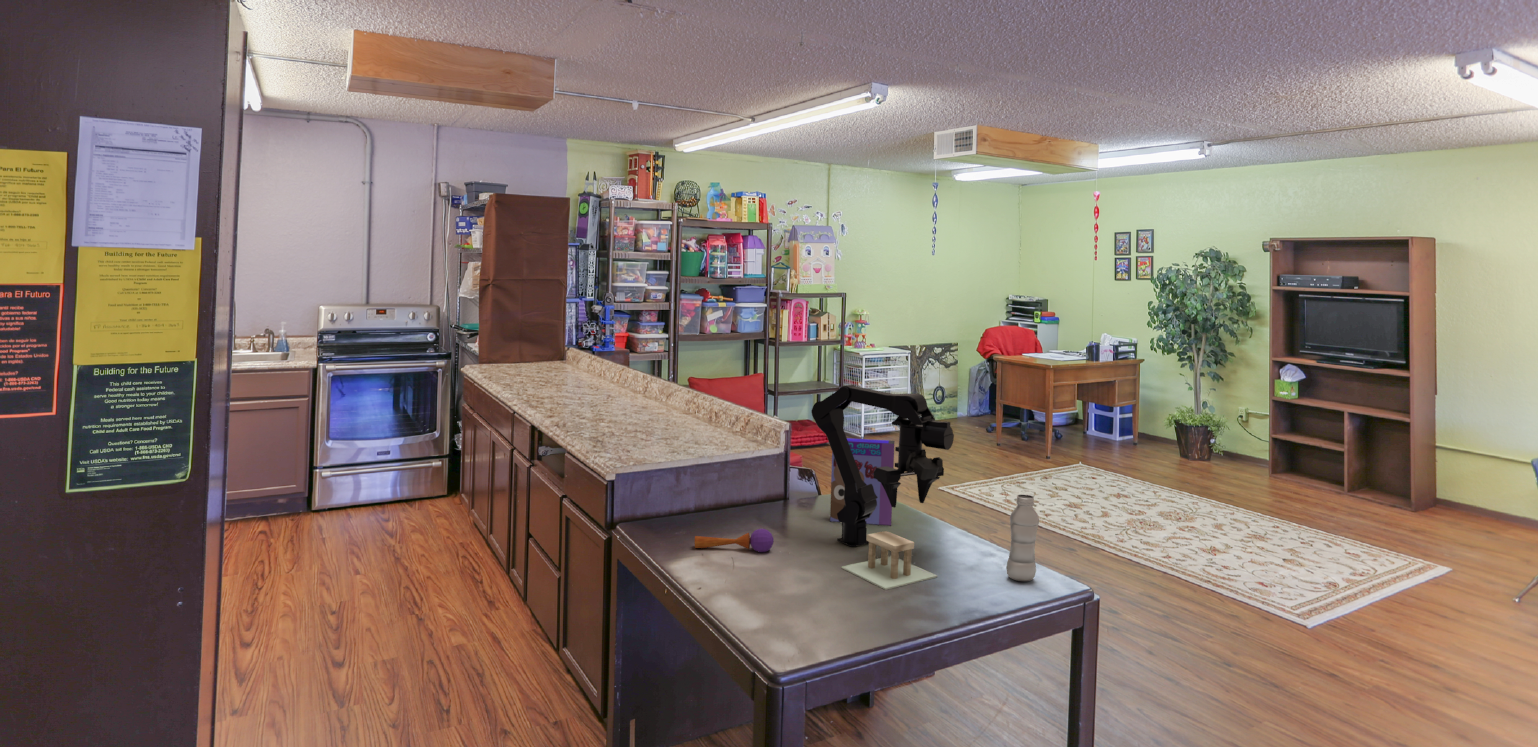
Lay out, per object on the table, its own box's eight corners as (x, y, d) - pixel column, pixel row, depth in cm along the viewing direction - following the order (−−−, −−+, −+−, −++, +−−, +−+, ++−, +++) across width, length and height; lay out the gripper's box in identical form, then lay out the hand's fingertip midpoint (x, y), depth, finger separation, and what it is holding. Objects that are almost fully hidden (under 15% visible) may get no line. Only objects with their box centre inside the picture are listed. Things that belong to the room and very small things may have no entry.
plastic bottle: (1001, 574, 191) (1005, 492, 189) (1029, 574, 192) (1033, 492, 189) (1011, 584, 185) (1016, 499, 182) (1040, 584, 185) (1045, 499, 183)
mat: (841, 568, 193) (841, 566, 193) (891, 557, 202) (891, 555, 202) (885, 589, 180) (885, 588, 180) (937, 577, 189) (937, 575, 188)
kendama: (697, 529, 209) (773, 526, 207) (698, 552, 209) (774, 550, 207) (693, 532, 203) (771, 529, 201) (694, 555, 203) (772, 553, 201)
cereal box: (830, 521, 231) (832, 439, 229) (831, 517, 236) (834, 436, 233) (891, 525, 228) (894, 443, 226) (891, 521, 233) (894, 439, 231)
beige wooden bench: (893, 579, 185) (895, 546, 184) (865, 566, 193) (866, 534, 192) (912, 575, 188) (914, 542, 187) (884, 562, 197) (885, 530, 196)
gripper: (903, 453, 189) (900, 518, 191) (960, 447, 199) (957, 508, 201) (873, 445, 199) (870, 506, 200) (929, 439, 208) (927, 497, 210)
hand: (907, 504), depth 203 cm, fingers open, 9 cm apart
